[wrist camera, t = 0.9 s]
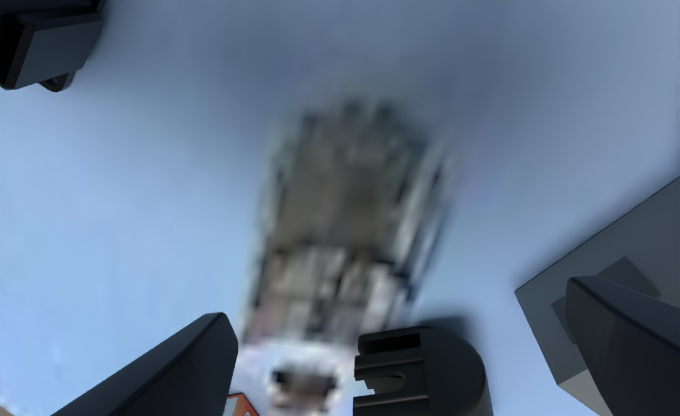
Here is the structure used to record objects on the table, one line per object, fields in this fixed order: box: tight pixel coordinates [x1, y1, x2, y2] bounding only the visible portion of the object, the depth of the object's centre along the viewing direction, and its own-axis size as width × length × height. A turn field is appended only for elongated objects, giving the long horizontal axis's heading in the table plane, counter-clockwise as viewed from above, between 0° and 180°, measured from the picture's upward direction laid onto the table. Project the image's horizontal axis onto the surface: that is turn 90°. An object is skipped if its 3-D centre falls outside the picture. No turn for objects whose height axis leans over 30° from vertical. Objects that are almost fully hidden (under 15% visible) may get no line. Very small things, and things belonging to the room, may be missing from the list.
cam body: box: [514, 177, 680, 416], centre depth 18 cm, size 6×10×7 cm, turn 141°
